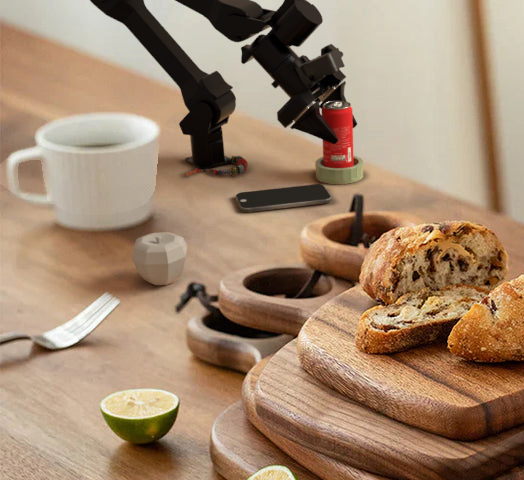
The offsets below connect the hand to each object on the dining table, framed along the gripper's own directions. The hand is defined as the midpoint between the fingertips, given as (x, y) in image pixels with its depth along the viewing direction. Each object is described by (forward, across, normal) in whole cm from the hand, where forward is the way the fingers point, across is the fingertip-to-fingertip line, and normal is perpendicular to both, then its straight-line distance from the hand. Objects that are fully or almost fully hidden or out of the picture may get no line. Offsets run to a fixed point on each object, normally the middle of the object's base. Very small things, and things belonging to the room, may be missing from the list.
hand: (346, 134), depth 183 cm
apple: (-2, -47, +13) cm, 49 cm away
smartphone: (+1, -14, +10) cm, 17 cm away
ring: (+4, 0, +6) cm, 8 cm away
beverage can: (+4, 0, +6) cm, 7 cm away
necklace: (-11, -4, +22) cm, 25 cm away
